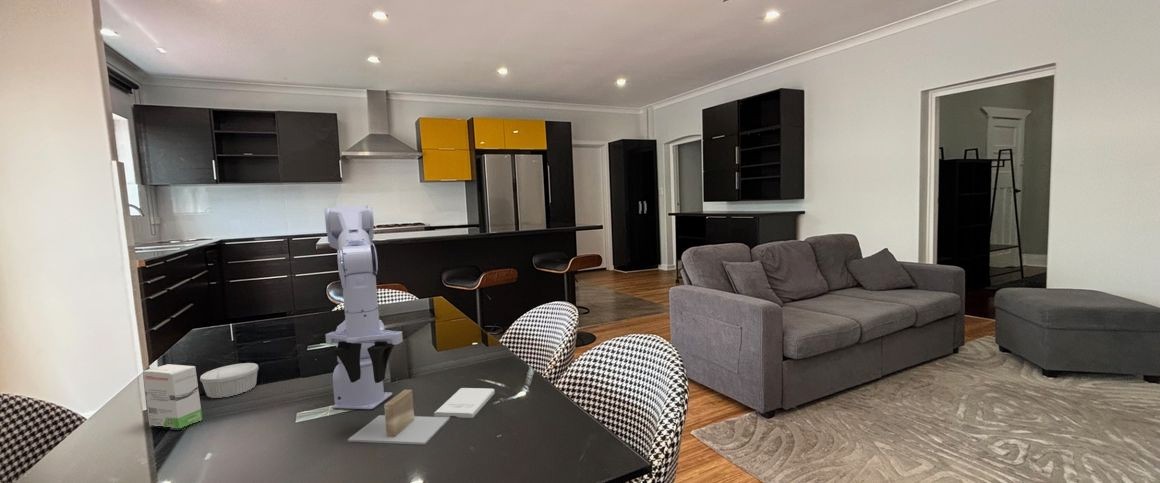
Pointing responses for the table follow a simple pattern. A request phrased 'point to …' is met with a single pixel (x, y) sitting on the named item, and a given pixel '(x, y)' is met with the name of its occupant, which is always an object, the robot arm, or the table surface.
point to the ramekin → (230, 380)
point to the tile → (399, 413)
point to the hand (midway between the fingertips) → (367, 380)
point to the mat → (412, 434)
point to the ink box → (172, 396)
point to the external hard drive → (465, 403)
